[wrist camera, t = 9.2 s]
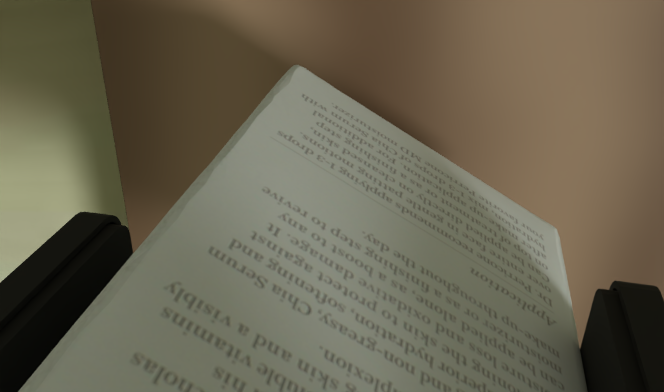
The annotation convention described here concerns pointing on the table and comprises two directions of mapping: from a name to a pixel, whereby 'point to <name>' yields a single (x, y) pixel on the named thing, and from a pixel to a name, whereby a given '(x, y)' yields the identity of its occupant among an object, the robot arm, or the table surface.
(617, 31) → the block
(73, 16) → the table surface
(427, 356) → the skincare box
